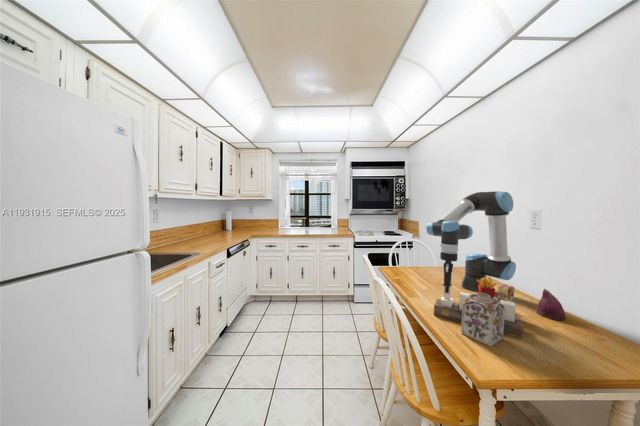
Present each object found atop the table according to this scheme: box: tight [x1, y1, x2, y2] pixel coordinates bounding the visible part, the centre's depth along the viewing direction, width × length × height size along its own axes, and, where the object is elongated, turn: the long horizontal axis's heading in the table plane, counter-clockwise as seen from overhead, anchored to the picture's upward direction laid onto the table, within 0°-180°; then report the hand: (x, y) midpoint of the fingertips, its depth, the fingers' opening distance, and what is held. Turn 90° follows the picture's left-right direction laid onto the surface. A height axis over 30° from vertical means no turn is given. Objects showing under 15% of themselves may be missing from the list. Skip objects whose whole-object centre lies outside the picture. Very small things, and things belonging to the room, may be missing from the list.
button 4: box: [500, 300, 517, 322], centre depth 107 cm, size 5×5×7 cm
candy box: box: [496, 284, 515, 302], centre depth 119 cm, size 9×4×15 cm, turn 123°
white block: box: [458, 291, 471, 310], centre depth 116 cm, size 5×5×7 cm
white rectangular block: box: [440, 295, 454, 308], centre depth 121 cm, size 5×5×7 cm
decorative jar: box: [460, 292, 505, 347], centre depth 101 cm, size 12×12×18 cm
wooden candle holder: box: [433, 298, 524, 338], centre depth 114 cm, size 10×34×5 cm, turn 56°
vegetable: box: [536, 288, 566, 322], centre depth 122 cm, size 10×10×15 cm
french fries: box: [476, 276, 497, 299], centre depth 136 cm, size 9×8×15 cm
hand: (446, 298), depth 120 cm, fingers closed
